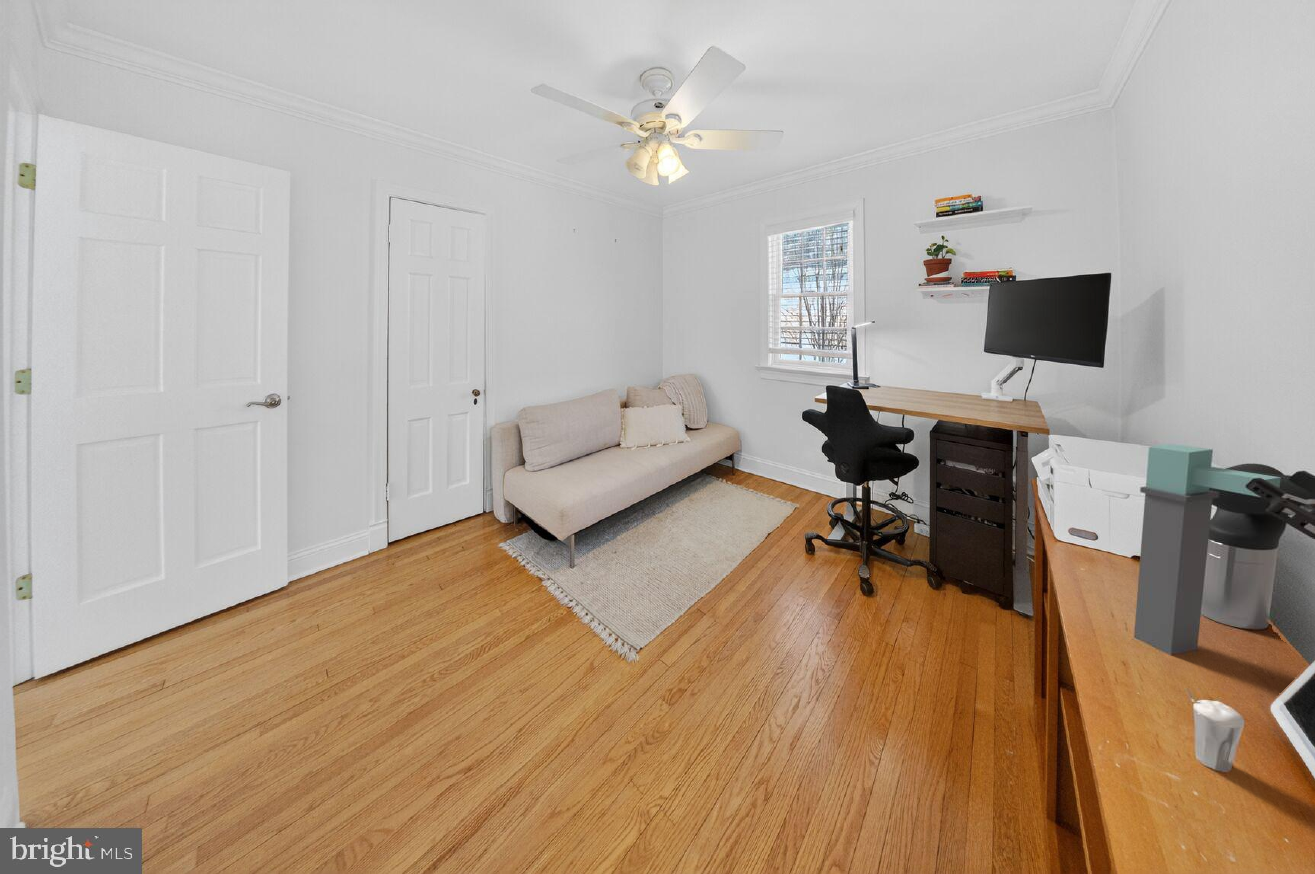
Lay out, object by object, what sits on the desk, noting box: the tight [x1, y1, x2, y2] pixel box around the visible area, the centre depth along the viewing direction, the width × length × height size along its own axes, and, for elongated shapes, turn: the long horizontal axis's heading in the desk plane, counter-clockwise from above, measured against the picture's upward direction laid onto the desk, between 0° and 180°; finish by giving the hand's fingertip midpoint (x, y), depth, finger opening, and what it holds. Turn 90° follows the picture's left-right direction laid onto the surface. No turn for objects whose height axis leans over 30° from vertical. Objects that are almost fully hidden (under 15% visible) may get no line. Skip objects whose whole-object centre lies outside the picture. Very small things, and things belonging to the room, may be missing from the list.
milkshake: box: [1185, 687, 1245, 773], centre depth 64 cm, size 4×5×10 cm
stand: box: [1133, 486, 1219, 656], centre depth 87 cm, size 7×7×32 cm
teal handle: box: [1145, 443, 1281, 497], centre depth 80 cm, size 15×5×8 cm, turn 7°
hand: (1273, 478), depth 72 cm, fingers open, 8 cm apart
